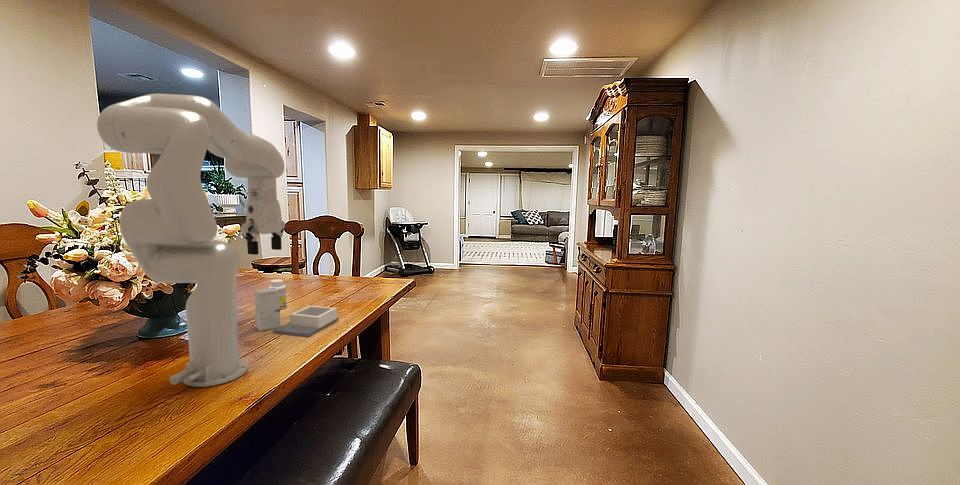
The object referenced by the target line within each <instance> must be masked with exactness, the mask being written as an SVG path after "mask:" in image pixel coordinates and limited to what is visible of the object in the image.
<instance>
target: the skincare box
mask: <svg viewBox="0 0 960 485" xmlns="http://www.w3.org/2000/svg"><path fill="white" fill-rule="evenodd" d="M254 305H255V306H254V307H255V310H254V311H255V328H256V329H257V330H258V331H259V332H261V331H267V330H274V329H277V328H279V327H281V314H280V312H281V309H280V302H279V290H278V289H276V288H269V287H268V288H261V289H254Z"/></svg>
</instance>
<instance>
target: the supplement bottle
mask: <svg viewBox="0 0 960 485" xmlns="http://www.w3.org/2000/svg"><path fill="white" fill-rule="evenodd" d="M286 287H287V286H286V285H285V284H284V280H283V279H272V280H270V286H269V287H268V288H276V289H278V290H279V302H280V310H283V309H286V307H287V288H286Z"/></svg>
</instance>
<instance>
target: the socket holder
mask: <svg viewBox="0 0 960 485" xmlns="http://www.w3.org/2000/svg"><path fill="white" fill-rule="evenodd" d="M339 319H340V318H339V316H338V308H337V307H329V306H319V305H308V306H306V307H304V308H301V309H299V310H296V311H294V312H292V313H290V314H289V322H288V323H285V324H283V325H280V327H278V328H274V329H272V331H273V334H277V335H283V336H285V335H286V336H295V337H303V338H310V337H312V336H314V335H315V334H317V333H319V332H320V331H322V330H324V329H326V328H328V327H330V326H331V325H333V324H335V323H337V322H338V321H339Z"/></svg>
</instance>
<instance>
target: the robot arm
mask: <svg viewBox="0 0 960 485" xmlns="http://www.w3.org/2000/svg"><path fill="white" fill-rule="evenodd" d="M96 127H97V132H98V135H99V137H100V138H101V140H102V141H103V142H104V143H105V144H106V145H107V146H109V147H110V148H112V149H113V150H115V151H118V152H121V153H128V154H129V153H130V154H155V155H156V154H157V155H160V156H159V158H158V159H157V161H156V162H155V164H154V166H152V168H151V170H150V172H149V173H148V174H147V178H146V184H145V185H146V189H147V192H148V195H149V196H150V198H143V199H142V198H140V199H136V200H133V201H131V202H129V203H127V204H126V205H125V206H124V207H123V208H122V210H121V213H120V215H119V228H120V233H121V236H122V238H123V239H124V241H125V243H126V245H127V247H128V249H129V250H130V251H131V253H132V254H133V256H134V258H135V259H136V261H137V263H138V264H139V266H140V268H141V270H142V271H143V272H144V273H145V275H146V276H147V277H148V278H149V279H150V280H152V281H153V282H156V283H162V284H185V283H186V284H196V287H195V289H193V291H192V292H191V294H189V296H188V298H187V300H186V303H185V315H186V324H187V325H186V326H187V342H188V350H189V352H188V353H189V362H185V368H184V369H183V370H182V371H181V372H177V373H176V374H174V375H171V376H170V377H169V382H170V384H171V385H173V386H174V385H178V384H179V383H183V384H184V385H186V386H189V387H193V388H194V387H195V388H205V387H213V386H218V385H222V384H226V383H229V382H231V381H234V380H236V379H238V378H240V377H241V376H243V375H244V374H245V373H246V372H247V370H248V366H249V365H248V362H247V361H245V360H243V359H242V358H240V346H239V330H238V329H239V328H238V325H239V324H238V310H237V278H238V277H237V275H238V271H239V263H240V256H239V252H238V250H237V248H236V247H235V246H234V245H232V244H231V243H229V242H226V241H222V240H216V239H215V240H213V239H214V238H216V237H217V236H216V235H217V233H218V224H217V220H216V218H215V214H214V212H213V209H212V207H211V205H210V203H209V200H208V198H207V194H206V193H205V192H206V191H205V190H204V187H203V184H202V181H201V173H202V168H203V164H204V160H205V157H206V154H207V151H208V152H210V153H211V154H212V155H214V156H216V157H219V158H222V159H224V167H225V170H226V171H227V172H228V173H229V174H230V175H231V176H233V177H236V178H238V179H239V178H241V179H247V193H246V194H247V197H248V200H247V204H246V211H245V212H246V213H245V214H246V215H245V219H246V221H245V223H242V225H241V226H239V230H240V232H241V235H242V237H243V238H244V241H246V248H247V254H248V255H254V256H257V255H259V241H258V237H259V235H267V234H268V235H270V234H271V236H270V240H271V241H270V242H271V249H272V250H278V251H281V250H282V237H283V233H284V232H285V227H286V222H285V221H284V220H283V217H282V210H281V205H280V202H279V200H278V195H277V194H278V193H277V191H278V190H277V179H278V178H280V177H281V176H282V175H283V174H284V172H285V162H284V159H283V156H282V154H281V153H280V152H279V151H278V149H277V147H276V146H274V144H272V143H271V142H270V141H268V140H267V139H264V138H263V137H259V136H258V135H255V134H253V133H250V132H248V131H246V130H243V129H241V128H238V127H237V126H236V124H235V123H233V121H232V120H231V119H230V118H229V117H228V116H227V115H226V114H225V113H224V112H223V110H222V109H220V107H218V106H217V105H216V103H214V102H213V101H212V100H211V99H208V98H206V97H205V96H200V95H194V94H193V95H191V94H176V93H174V94H173V93H160V92H159V93H149V94H144V95H140V96H137V97H134V98H130V99H128V100H124V101H120V102H117V103H113V104H111V105H108V106H107V107H106V108H103V110H102V111H101V112H100V113H99V115H98V118H97V120H96Z"/></svg>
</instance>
